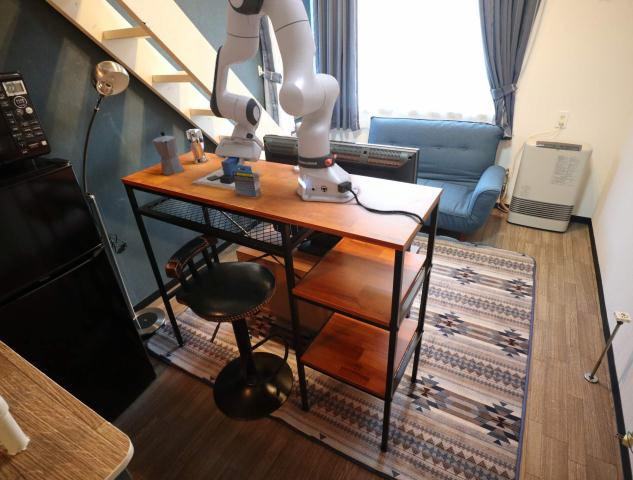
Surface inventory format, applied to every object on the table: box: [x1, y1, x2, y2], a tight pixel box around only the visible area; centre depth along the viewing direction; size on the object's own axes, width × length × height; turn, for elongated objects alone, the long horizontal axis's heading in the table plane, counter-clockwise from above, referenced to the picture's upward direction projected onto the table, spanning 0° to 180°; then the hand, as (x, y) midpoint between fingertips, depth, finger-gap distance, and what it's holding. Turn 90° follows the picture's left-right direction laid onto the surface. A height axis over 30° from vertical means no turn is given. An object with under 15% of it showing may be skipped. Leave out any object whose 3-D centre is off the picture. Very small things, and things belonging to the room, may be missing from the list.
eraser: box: [219, 157, 245, 184], centre depth 139 cm, size 5×12×8 cm, turn 154°
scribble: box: [207, 175, 220, 181], centre depth 142 cm, size 4×4×1 cm
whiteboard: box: [192, 167, 261, 190], centre depth 143 cm, size 22×18×1 cm
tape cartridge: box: [231, 164, 262, 197], centre depth 124 cm, size 9×4×12 cm, turn 65°
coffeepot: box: [152, 131, 184, 176], centre depth 152 cm, size 15×9×18 cm, turn 27°
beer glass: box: [185, 128, 208, 165], centre depth 163 cm, size 7×7×15 cm
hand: (231, 169), depth 139 cm, fingers closed on eraser, 3 cm apart
